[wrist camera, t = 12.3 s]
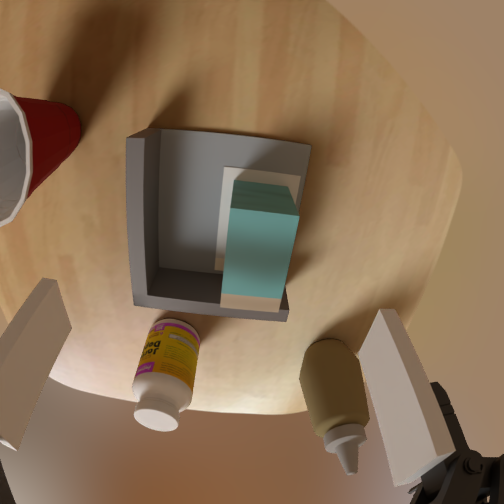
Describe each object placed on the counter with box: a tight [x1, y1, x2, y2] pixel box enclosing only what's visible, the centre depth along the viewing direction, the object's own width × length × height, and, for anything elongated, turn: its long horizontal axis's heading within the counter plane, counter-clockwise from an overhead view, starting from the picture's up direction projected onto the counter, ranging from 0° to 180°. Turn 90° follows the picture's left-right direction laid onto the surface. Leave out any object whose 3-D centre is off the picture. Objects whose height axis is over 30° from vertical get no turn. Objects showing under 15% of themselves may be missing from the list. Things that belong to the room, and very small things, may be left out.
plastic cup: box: [0, 89, 81, 227], centre depth 20 cm, size 11×11×12 cm
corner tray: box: [126, 128, 312, 322], centre depth 28 cm, size 16×15×5 cm
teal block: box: [220, 180, 300, 313], centre depth 28 cm, size 9×5×7 cm, turn 173°
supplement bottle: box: [132, 319, 200, 431], centre depth 33 cm, size 7×7×13 cm
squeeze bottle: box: [299, 339, 370, 475], centre depth 33 cm, size 8×8×18 cm
